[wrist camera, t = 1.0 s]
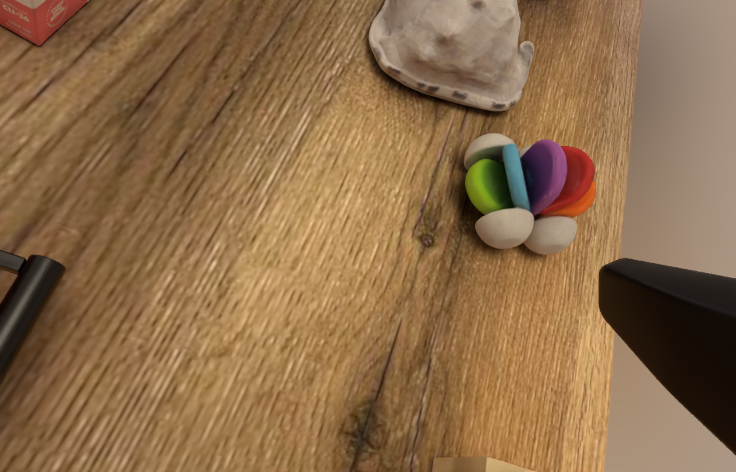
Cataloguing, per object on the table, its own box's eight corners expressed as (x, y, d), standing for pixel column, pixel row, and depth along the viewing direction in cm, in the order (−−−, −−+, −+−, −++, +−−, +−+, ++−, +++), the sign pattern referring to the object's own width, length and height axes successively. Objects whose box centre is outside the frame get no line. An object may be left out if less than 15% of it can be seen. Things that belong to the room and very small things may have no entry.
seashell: (518, 121, 44) (614, 42, 36) (376, 102, 38) (452, 0, 29) (483, 10, 48) (562, -84, 40) (350, -24, 42) (409, -145, 33)
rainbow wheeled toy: (560, 263, 40) (641, 227, 34) (456, 250, 36) (527, 206, 30) (540, 168, 43) (611, 120, 37) (443, 146, 39) (504, 88, 33)
